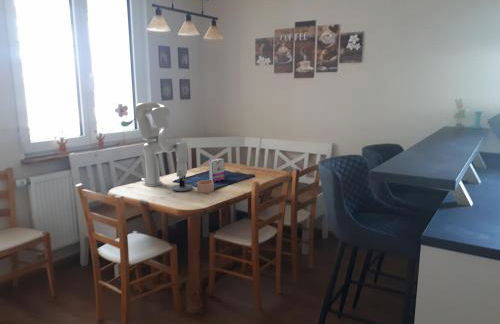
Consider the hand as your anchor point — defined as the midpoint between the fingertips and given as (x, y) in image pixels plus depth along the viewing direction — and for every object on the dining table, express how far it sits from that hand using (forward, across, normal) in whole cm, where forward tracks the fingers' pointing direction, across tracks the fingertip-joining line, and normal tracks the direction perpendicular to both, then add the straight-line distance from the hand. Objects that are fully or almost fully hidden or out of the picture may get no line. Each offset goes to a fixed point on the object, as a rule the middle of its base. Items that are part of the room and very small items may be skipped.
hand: (182, 185), depth 277 cm
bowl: (+3, +1, +17) cm, 17 cm away
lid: (+2, 0, 0) cm, 2 cm away
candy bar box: (+3, -26, +19) cm, 32 cm away
